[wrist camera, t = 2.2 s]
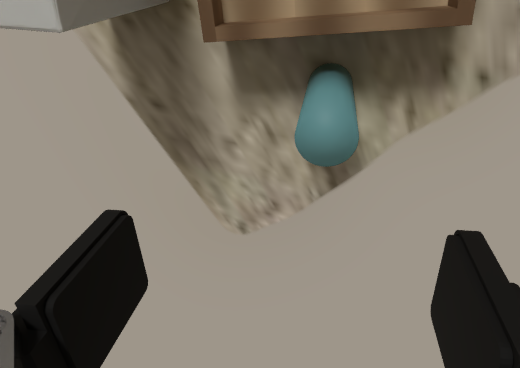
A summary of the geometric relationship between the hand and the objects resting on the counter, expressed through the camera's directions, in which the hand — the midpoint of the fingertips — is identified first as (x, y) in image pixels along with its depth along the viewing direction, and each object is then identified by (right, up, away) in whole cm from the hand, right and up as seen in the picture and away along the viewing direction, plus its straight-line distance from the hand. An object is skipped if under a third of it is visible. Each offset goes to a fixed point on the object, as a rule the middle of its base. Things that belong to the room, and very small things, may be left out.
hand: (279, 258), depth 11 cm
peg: (+6, +11, +22) cm, 25 cm away
